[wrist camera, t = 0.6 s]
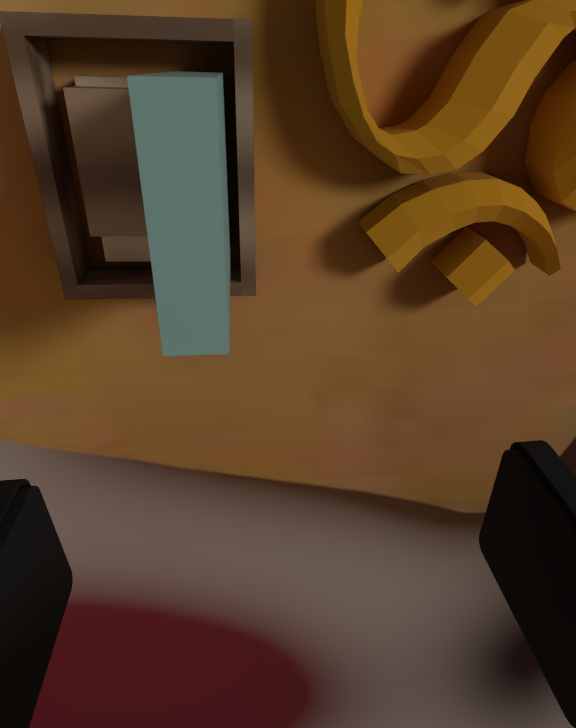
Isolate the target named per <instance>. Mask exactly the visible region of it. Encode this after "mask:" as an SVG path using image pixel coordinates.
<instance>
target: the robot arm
mask: <svg viewBox="0 0 576 728" xmlns="http://www.w3.org/2000/svg"><path fill="white" fill-rule="evenodd" d="M479 543H480V548H481V551H482V553H483V555H484V557H485V559H486V561H487V563H488V565H489V567H490V569H491V571H492V573H493V575H494V577H495V579H496V581H497V583H498V585H499V587H500V589H501V591H502V593H503V595H504V597H505V599H506V601H507V603H508V605H509V607H510V609H511V611H512V612H513V615H514V617H515V619H516V620H517V622H518V624H519V627H520V628H521V630H522V632H523V634H524V636H525V638H526V640H527V642H528V644H529V646H530V648H531V650H532V652H533V654H534V656H535V658H536V660H537V662H538V664H539V666H540V668H541V670H542V672H543V674H544V676H545V678H546V680H547V682H548V684H549V685H550V688H551V689H552V692H553V694H554V696H555V698H556V699H557V701H558V703H559V705H560V707H561V709H562V711H563V713H564V715H565V717H566V718H567V720H568V721H569V723H570V724H571V725H572V726H573V727H574V728H576V477H575V475H574V474H573V473H572V472H571V471H570V469H569V468H568V467H567V466H566V465H565V464H564V462H563V461H562V460H561V458H560V457H559V456H558V455H557V454H556V452H555V451H554V450H553V449H552V447H551V446H550V445H549V444H548V443H547V442H545V441H542V440H540V441H527V442H515V443H513V444H512V445H511V447H510V450H506V451H505V452H504V453H503V456H502V459H501V462H500V466H499V469H498V473H497V476H496V480H495V483H494V486H493V490H492V493H491V497H490V500H489V504H488V507H487V510H486V514H485V517H484V521H483V524H482V528H481V531H480V535H479ZM71 588H72V571H71V569H70V566H69V563H68V561H67V558H66V556H65V553H64V550H63V548H62V545H61V543H60V540H59V538H58V535H57V532H56V530H55V527H54V525H53V522H52V520H51V517H50V515H49V512H48V509H47V507H46V505H45V502H44V499H43V497H42V494H41V492H40V489H39V488H38V487H37V486H31V485H30V483H29V481H28V480H26V479H17V480H3V481H0V728H29V726H30V723H31V719H32V716H33V713H34V709H35V706H36V703H37V700H38V696H39V693H40V690H41V687H42V683H43V680H44V677H45V674H46V670H47V667H48V664H49V660H50V657H51V654H52V651H53V648H54V644H55V641H56V638H57V635H58V631H59V628H60V625H61V622H62V618H63V615H64V612H65V609H66V605H67V602H68V599H69V596H70V592H71Z"/></svg>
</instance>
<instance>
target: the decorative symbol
mask: <svg viewBox="0 0 576 728" xmlns="http://www.w3.org/2000/svg"><path fill="white" fill-rule="evenodd" d="M363 2H364V0H316V8H315V16H316V25H317V33H318V41H319V49H320V54H321V59H322V64H323V69H324V74H325V79H326V83H327V88H328V93H329V98H330V100H331V102H332V104H333V105H334V107H335V109H336V110H337V112H338V114H339V115H340V117H341V119H342V120H343V122H344V124H345V125H346V127H347V129H348V131H349V132H350V134H351V136H352V137H353V139H355V140H356V141H357V142H358V143H360V144H361V145H362V146H364V147H365V148H366V149H368V150H369V151H370V152H371V153H373V154H374V155H375V156H377V157H378V158H379V159H380V160H382V161H383V162H384V163H386V164H387V165H389V166H390V167H392V168H393V169H395V170H396V171H398V172H399V173H402V174H424V175H432V174H437V173H442V172H447V171H452V170H457V169H458V168H460V167H461V166H463V165H464V164H466V163H467V162H468V161H470V160H471V159H473V158H474V157H476V156H477V155H479V154H480V153H481V152H483V151H484V150H485V149H486V148H487V147H488V145H489V144H490V143H491V142H492V141H493V140H494V138H495V137H496V136H497V135H498V134H499V133H500V131H501V130H502V129H503V128H504V127H505V125H506V124H507V123H508V122H509V121H510V120H511V118H512V117H513V116H514V114H515V113H516V111H517V109H518V107H519V106H520V104H521V102H522V100H523V98H524V97H525V95H526V93H527V91H528V89H529V88H530V86H531V84H532V82H533V80H534V79H535V77H536V76H537V74H538V73H539V71H540V70H541V69H542V67H543V66H544V64H545V63H546V62H547V60H548V59H549V57H550V56H551V55H552V53H553V52H554V50H555V49H556V48H557V46H558V45H559V44H560V42H561V41H562V39H563V38H564V37H565V36H566V35H568V34H569V33H570V32H571V31H572V30H573V31H575V32H576V0H525V1H521V2H516V3H512V4H507V5H505V6H502V7H500V8H498V9H495V10H493V11H491V12H488V13H486V14H484V15H481V16H480V18H479V19H478V20H477V22H476V23H475V25H474V26H473V27H472V29H471V30H470V31H469V33H468V34H467V35H466V37H465V38H464V39H463V41H462V42H461V43H460V45H459V46H458V47H457V49H456V50H455V52H454V53H453V55H452V56H451V58H450V60H449V62H448V64H447V66H446V67H445V69H444V71H443V73H442V75H441V77H440V78H439V80H438V82H437V84H436V86H435V87H434V89H433V91H432V93H431V95H430V97H429V98H428V100H427V101H426V102H425V103H424V104H423V105H422V106H421V107H420V108H419V109H418V110H417V111H416V112H415V113H414V114H413V115H412V116H411V117H410V118H409V119H408V120H407V121H405V122H403V123H401V124H399V125H394V126H388V127H382V128H378V127H377V125H376V123H375V121H374V120H373V118H372V116H371V115H370V113H369V111H368V110H367V106H366V101H365V97H364V93H363V89H362V84H361V80H360V76H359V72H358V67H357V63H356V62H357V42H358V22H359V15H360V12H361V8H362V5H363ZM525 165H526V168H527V171H528V173H529V176H530V179H531V182H532V185H533V188H534V191H535V192H537V193H539V194H541V195H542V196H544V197H546V198H548V199H549V200H551V201H553V202H555V203H557V204H559V205H562V206H564V207H566V208H569V209H571V210H573V211H576V59H574V60H573V61H572V62H571V63H570V64H569V65H568V66H567V67H566V69H565V70H564V71H563V72H562V73H561V74H560V75H559V76H558V78H557V79H556V80H555V81H554V82H553V83H552V84H551V85H550V87H549V88H548V89H547V90H546V91H545V92H544V94H543V96H542V99H541V101H540V103H539V106H538V108H537V110H536V113H535V115H534V117H533V120H532V122H531V124H530V129H529V137H528V144H527V152H526V159H525ZM492 221H494V222H498V223H502V224H506V225H509V226H511V227H513V228H514V229H516V230H517V232H518V233H519V235H520V236H521V238H522V240H523V241H524V243H525V246H526V249H527V253H528V256H529V259H530V262H531V263H532V264H533V265H535V266H536V267H538V268H539V269H541V270H542V271H544V272H545V273H547V274H548V275H551V274H553V273H555V272H556V271H558V270H560V263H559V258H558V253H557V247H556V244H555V240H554V237H553V233H552V230H551V227H550V224H549V222H548V219H547V217H546V215H545V213H544V212H543V210H542V209H541V208H540V206H539V205H538V203H537V202H536V201H535V200H534V199H533V198H532V197H531V196H529V195H528V194H527V193H526V192H525V191H524V190H523V189H522V188H520V187H518V186H515V185H513V184H511V183H508V182H506V181H504V180H501V179H499V178H496V177H493V176H491V175H488V174H485V173H482V172H480V171H477V172H458V173H449V174H445V175H441V176H438V177H434V178H430V179H426V180H422V181H420V182H417V183H415V184H413V185H411V186H409V187H407V188H404V189H402V190H400V191H398V192H396V193H394V194H392V195H390V196H389V197H388V198H386V199H385V200H384V201H383V202H381V203H380V204H379V205H378V206H377V207H375V208H374V209H373V210H372V211H370V212H369V213H368V214H367V215H365V216H364V217H363V218H362V219H361V220H359V221H358V223H359V224H360V225H361V227H362V228H363V229H364V230H365V232H366V233H367V234H368V235H369V237H370V238H371V239H372V240H373V242H374V243H375V244H376V245H377V247H378V248H379V249H380V251H381V252H382V253H383V254H384V256H385V257H386V258H387V259H388V261H389V262H390V263H391V264H392V266H393V267H394V268H395V269H396V271H397V272H399V271H400V270H401V269H402V268H403V267H404V266H405V265H406V264H407V263H408V262H410V261H411V260H412V259H413V258H414V257H415V256H416V255H417V254H418V253H419V252H420V251H421V250H422V249H423V248H424V247H425V246H427V245H429V244H431V243H433V242H434V241H436V240H438V239H440V238H442V237H444V236H445V235H447V234H449V233H451V232H453V231H455V230H457V229H459V228H462V227H465V226H466V227H465V228H464V229H463V230H462V231H461V232H460V233H459V234H458V235H457V236H456V237H455V238H454V239H453V240H452V241H451V242H450V243H449V244H448V245H447V246H446V247H445V248H444V249H443V250H442V251H441V252H440V253H439V254H438V255H437V256H436V257H435V258H434V259H433V260H432V261H431V263H432V264H433V265H434V266H435V267H436V268H437V269H438V270H439V271H440V272H441V273H442V274H443V275H444V276H445V277H446V278H447V279H448V280H450V281H451V282H452V283H453V284H454V285H455V286H456V287H457V288H458V289H459V290H460V291H461V292H462V293H463V294H464V295H465V296H466V297H467V298H468V299H469V300H470V301H471V302H472V303H474V304H475V305H476V306H477V305H478V304H479V303H480V302H482V301H483V300H484V299H485V298H486V297H487V296H488V295H489V294H490V293H491V292H492V291H494V290H495V289H496V288H497V287H498V286H499V285H500V284H501V283H502V282H503V281H504V280H506V279H507V278H508V277H509V276H510V275H511V274H512V273H513V272H514V271H515V269H514V268H513V266H512V265H511V263H510V262H509V261H508V260H507V259H506V258H505V257H504V256H503V255H502V254H501V253H500V252H499V251H498V250H497V249H496V248H494V247H493V246H492V245H491V244H490V243H489V242H488V241H487V240H486V239H484V238H483V237H482V236H480V235H479V234H477V233H476V232H474V231H473V230H471V229H470V228H469V227H467V225H470V224H472V223H475V222H492Z"/></svg>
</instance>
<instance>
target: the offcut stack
mask: <svg viewBox="0 0 576 728" xmlns="http://www.w3.org/2000/svg"><path fill="white" fill-rule="evenodd" d="M74 78H75V84H76V86H71V87H64V88H63V90H64V96H65V101H66V107H67V112H68V118H69V123H70V129H71V134H72V140H73V145H74V151H75V156H76V162H77V167H78V173H79V178H80V184H81V189H82V194H83V200H84V205H85V211H86V216H87V222H88V227H89V233H90V236H101V237H102V243H103V249H104V255H105V261H106V262H124V261H151V258H150V251H149V243H148V235H147V227H146V220H145V212H144V204H143V197H142V189H141V181H140V173H139V166H138V158H137V150H136V142H135V135H134V127H133V119H132V112H131V104H130V96H129V88H128V81H127V76H97V75H78V76H74Z"/></svg>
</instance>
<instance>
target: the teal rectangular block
mask: <svg viewBox="0 0 576 728" xmlns="http://www.w3.org/2000/svg"><path fill="white" fill-rule="evenodd" d="M127 81H128V88H129V96H130V104H131V112H132V119H133V127H134V135H135V142H136V150H137V158H138V166H139V173H140V181H141V189H142V197H143V204H144V212H145V220H146V227H147V235H148V243H149V251H150V258H151V266H152V274H153V282H154V289H155V297H156V305H157V312H158V320H159V328H160V336H161V343H162V351H163V356H179V355H212V354H229V341H230V223H229V198H228V174H227V149H226V125H225V101H224V76H223V72H189V71H171V72H161V73H151V74H141V75H131V76H127Z"/></svg>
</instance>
